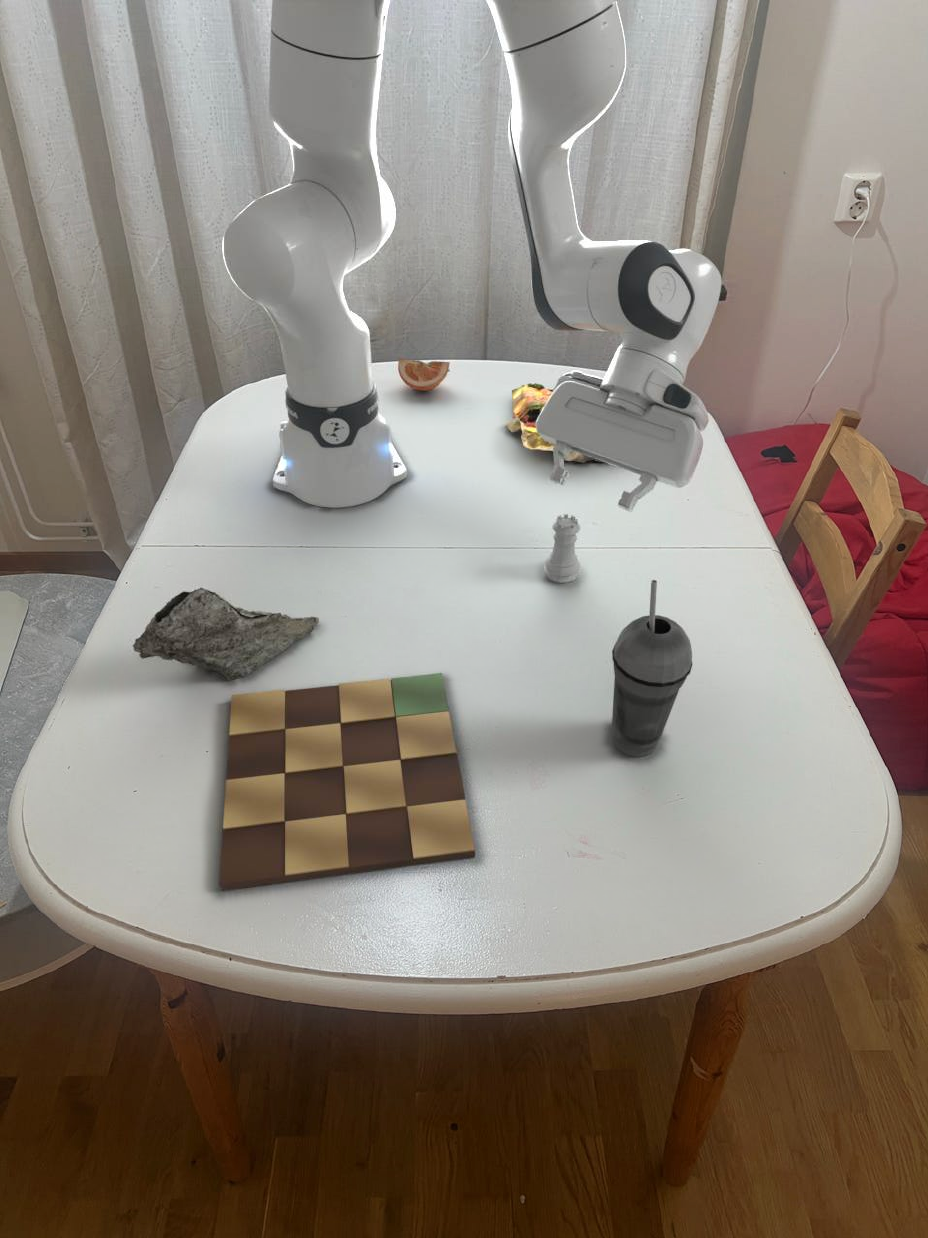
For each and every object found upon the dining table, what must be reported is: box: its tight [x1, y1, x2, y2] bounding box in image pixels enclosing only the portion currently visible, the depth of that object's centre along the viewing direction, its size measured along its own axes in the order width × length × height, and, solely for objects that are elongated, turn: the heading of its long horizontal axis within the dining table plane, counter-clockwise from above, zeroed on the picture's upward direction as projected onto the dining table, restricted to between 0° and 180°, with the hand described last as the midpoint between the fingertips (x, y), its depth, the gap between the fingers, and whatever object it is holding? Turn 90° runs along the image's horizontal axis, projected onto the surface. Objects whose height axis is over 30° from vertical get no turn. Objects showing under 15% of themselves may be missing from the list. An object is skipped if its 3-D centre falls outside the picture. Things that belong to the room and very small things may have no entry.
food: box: [504, 382, 604, 464], centre depth 131 cm, size 22×19×4 cm
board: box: [218, 672, 476, 891], centre depth 82 cm, size 22×22×1 cm
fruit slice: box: [397, 358, 451, 391], centre depth 140 cm, size 8×7×5 cm
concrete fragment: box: [132, 587, 320, 681], centre depth 90 cm, size 6×19×11 cm, turn 131°
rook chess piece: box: [543, 513, 581, 584], centre depth 103 cm, size 4×4×8 cm
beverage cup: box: [611, 579, 693, 758], centre depth 79 cm, size 7×7×20 cm
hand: (589, 495), depth 102 cm, fingers open, 8 cm apart
